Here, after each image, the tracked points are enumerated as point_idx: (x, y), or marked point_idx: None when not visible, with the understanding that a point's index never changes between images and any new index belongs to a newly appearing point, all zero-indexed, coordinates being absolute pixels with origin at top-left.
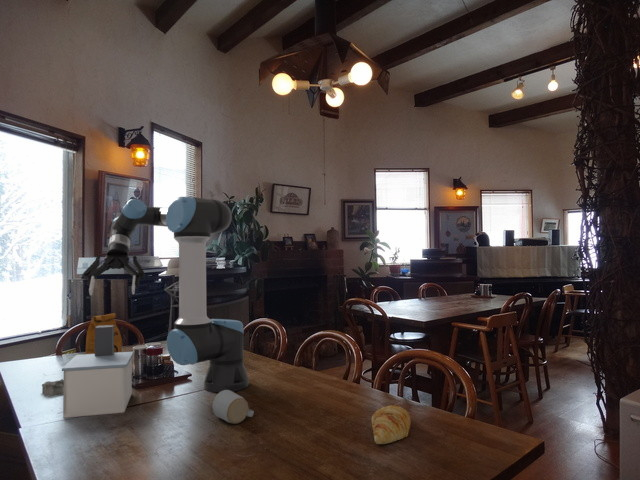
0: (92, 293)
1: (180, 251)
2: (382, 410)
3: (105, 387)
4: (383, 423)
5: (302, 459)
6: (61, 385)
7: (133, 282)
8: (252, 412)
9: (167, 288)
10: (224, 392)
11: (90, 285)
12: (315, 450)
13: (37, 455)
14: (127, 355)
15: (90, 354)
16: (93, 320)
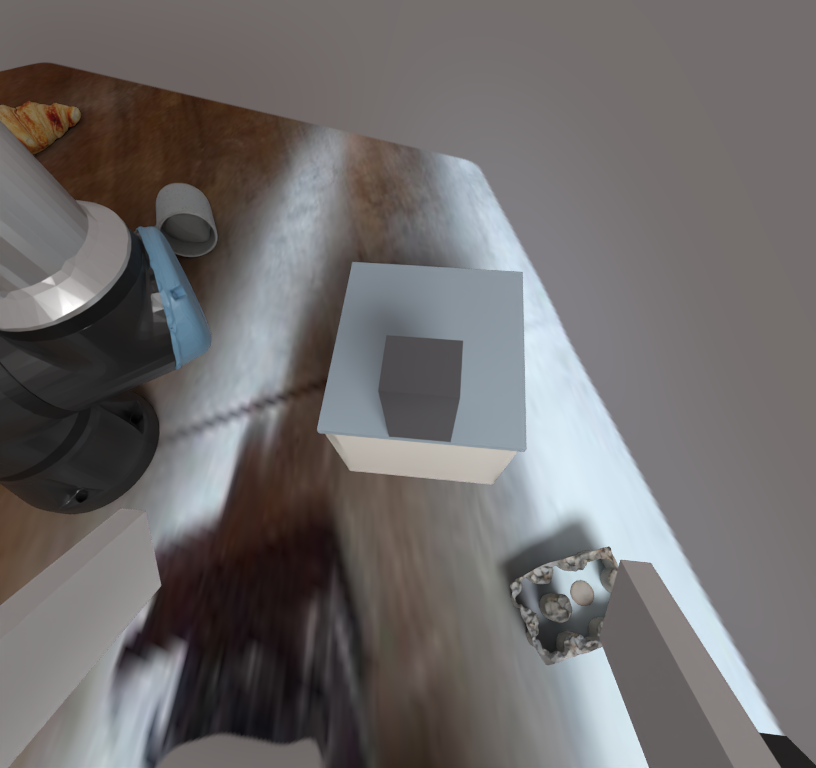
0: (609, 660)
1: None
2: (9, 117)
3: None
4: (42, 106)
5: (180, 119)
6: (564, 567)
7: (22, 602)
8: (155, 226)
9: None
10: (179, 205)
11: (687, 638)
12: (152, 131)
13: (492, 206)
14: (343, 370)
15: (473, 436)
16: None
